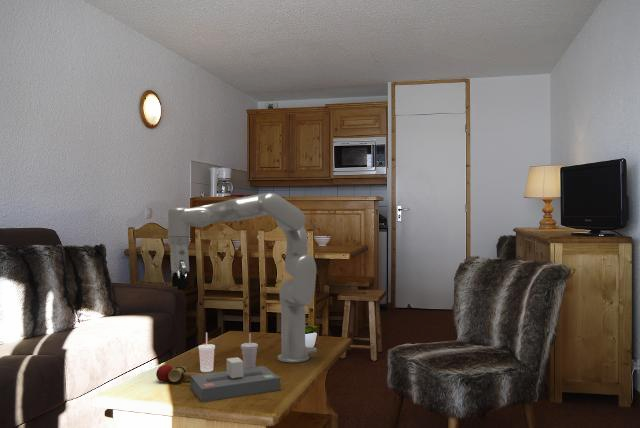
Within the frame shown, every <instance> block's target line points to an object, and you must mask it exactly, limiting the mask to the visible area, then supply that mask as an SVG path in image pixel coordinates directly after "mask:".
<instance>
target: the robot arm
mask: <svg viewBox="0 0 640 428" xmlns="http://www.w3.org/2000/svg"><path fill="white" fill-rule="evenodd" d="M262 216H270V217H272V218H273V219H274V220H275V223H276V225H277V227H278V228H279V229H281V230H282V231H283V233H284V235H285V238H286V251H285V257H284V258H285V260H284V269H285V272H286V273H287V274H288V275H289V276H292V279H287V280H285V281H284V282H283V283H281V286H280V288H279V302H280V310H281V311H280V313H281V317H280V318H281V320H280V321H281V323H280V324H281V327H280V329H281V335H280V336H281V353H280V354H278V355H277V360H278V361H279V362H282V363H291V364H294V363H303V362H306V361H308V360H309V359H310V355H309V354H310V353H312V354H313V353H317V347H311V346H310V347H309V346H306V310H305V309H306V308H305V307H308V306H309V305H310V304H311V303H312V301H313V300H314V297H315V296H314V295H315V289H316V280H317V264H316V263H317V262H316V261H315V259H314V258H313V257H312V256H311V255H309V254H308V246H309V245H308V244H309V239H308V234H307V230H306V228H305V224H306V216H305V213H304V212H303V211H302V210H301V209H300V208H298V207H297V206H295V205H294V204H292V203H291V202H289V201H288V200H286V199H285V198H283V197H282V196H280V195H278V194H277V193H274V192H267V193H266V192H265V193H259V194H258V193H257V194H253V195H249V196H243V197H238V198H232V199H228V200H224V201H221V202H216V203H210V204H205V205H200V206H199V205H198V206H193V207H180V206H179V207H170V208H169V209H168V211H167V220H168V221H167V224H168V225H167V233H168V234H167V235H168V239H167V240H168V242H167V243H168V246H170V269H171V271H172V272H171V275H172V276H171V286H172V288H173V287H174V288H177V291H182V290H187V285H188V284H187V283H188V282H187V279H188V278H187V273H189V272H190V261H189V260H190V259H189V258H190V257H189V255H190V254H189V245H190V244H191V243H190V240H191V239H190V227H197V228H204V227H206V226H209V225H211V224H216V223H222V222H223V223H224V222H227V223H228V222H238V221H244V220H248V219H253V218H258V217H262Z"/></svg>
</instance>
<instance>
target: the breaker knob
mask: <svg viewBox="0 0 640 428" xmlns="http://www.w3.org/2000/svg"><path fill="white" fill-rule="evenodd" d="M225 361H226V371H227V375H229V376H230V377H231V378H238V377H244V371H243V369H244V362H243V359H241V358H239V357H238V356H237V357H229V358H228V357H227V358H226V360H225Z"/></svg>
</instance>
